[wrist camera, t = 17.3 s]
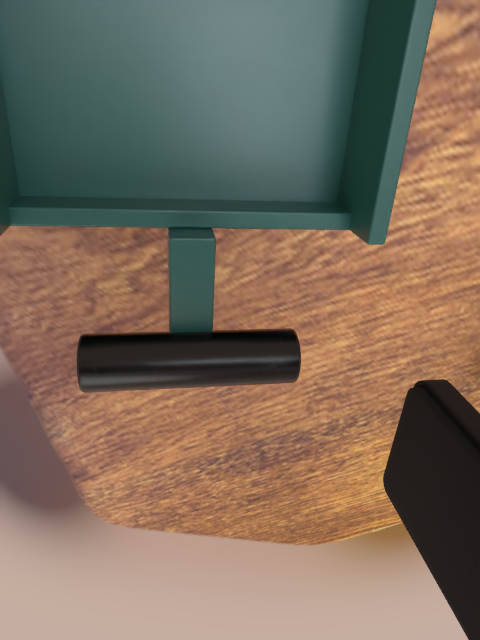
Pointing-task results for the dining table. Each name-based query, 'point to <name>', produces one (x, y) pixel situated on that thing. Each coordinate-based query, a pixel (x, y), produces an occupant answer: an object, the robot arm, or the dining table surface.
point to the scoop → (204, 146)
